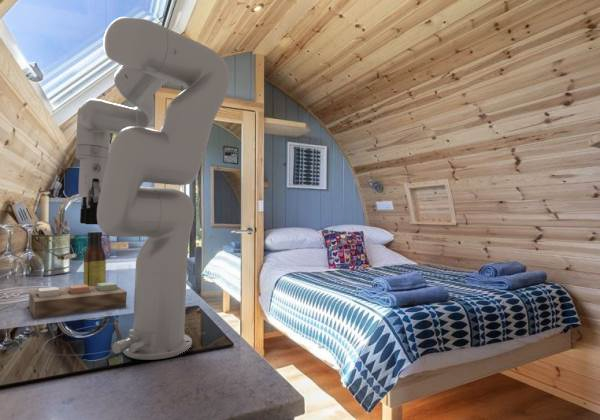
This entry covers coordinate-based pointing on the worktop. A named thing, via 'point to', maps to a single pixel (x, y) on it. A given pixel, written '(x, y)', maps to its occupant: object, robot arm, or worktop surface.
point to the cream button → (48, 292)
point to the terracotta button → (78, 289)
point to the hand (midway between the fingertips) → (89, 223)
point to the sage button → (106, 286)
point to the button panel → (75, 301)
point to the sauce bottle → (94, 260)
